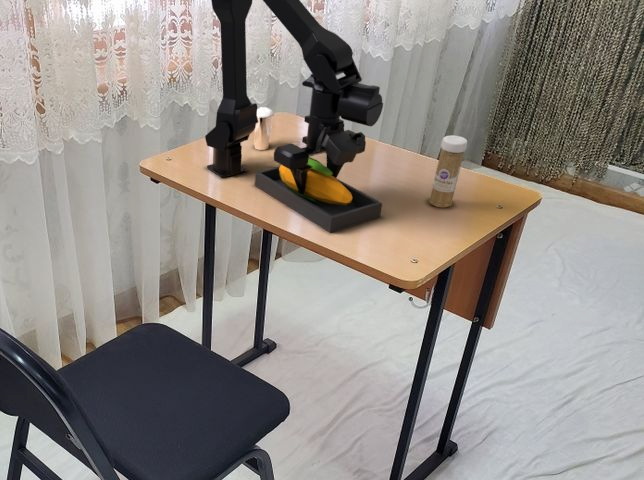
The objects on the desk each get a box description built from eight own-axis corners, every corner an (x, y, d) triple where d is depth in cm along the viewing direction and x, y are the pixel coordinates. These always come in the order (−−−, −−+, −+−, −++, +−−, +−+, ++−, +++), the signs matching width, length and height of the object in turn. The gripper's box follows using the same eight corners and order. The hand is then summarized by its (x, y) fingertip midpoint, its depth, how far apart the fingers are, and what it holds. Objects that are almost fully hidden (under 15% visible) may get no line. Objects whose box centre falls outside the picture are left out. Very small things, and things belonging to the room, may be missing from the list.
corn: (298, 142, 153) (369, 174, 139) (296, 176, 157) (365, 210, 144) (270, 152, 150) (340, 186, 136) (270, 186, 154) (337, 222, 141)
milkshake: (246, 144, 174) (249, 102, 168) (268, 143, 174) (272, 101, 168) (250, 151, 170) (252, 108, 164) (273, 150, 171) (276, 107, 165)
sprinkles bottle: (427, 206, 147) (441, 141, 139) (430, 197, 151) (444, 133, 143) (451, 210, 146) (466, 144, 138) (453, 200, 149) (468, 136, 141)
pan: (254, 185, 155) (255, 172, 154) (301, 173, 160) (303, 160, 159) (329, 232, 138) (331, 218, 137) (380, 217, 143) (382, 203, 142)
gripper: (313, 136, 129) (303, 216, 139) (391, 117, 137) (378, 194, 146) (275, 117, 137) (269, 194, 146) (351, 100, 145) (341, 174, 154)
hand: (315, 189), depth 148 cm, fingers closed on corn, 7 cm apart
